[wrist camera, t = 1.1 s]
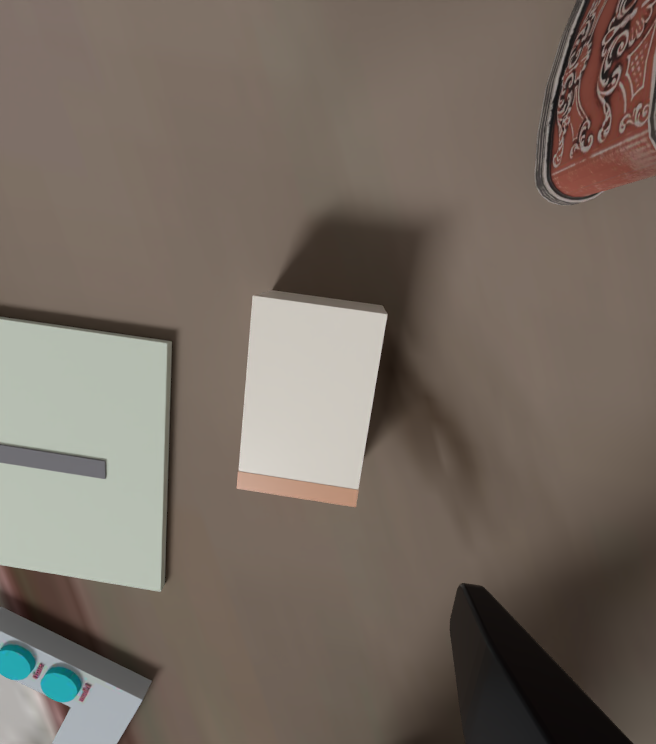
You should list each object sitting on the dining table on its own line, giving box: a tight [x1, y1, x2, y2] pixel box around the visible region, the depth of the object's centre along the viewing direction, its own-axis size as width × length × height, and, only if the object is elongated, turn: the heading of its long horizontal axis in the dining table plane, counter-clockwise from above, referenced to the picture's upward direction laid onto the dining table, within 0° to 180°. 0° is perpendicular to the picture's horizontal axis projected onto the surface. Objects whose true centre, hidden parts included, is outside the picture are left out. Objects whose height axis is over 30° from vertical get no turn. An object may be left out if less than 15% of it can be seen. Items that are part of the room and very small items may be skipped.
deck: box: [237, 290, 388, 507], centre depth 18 cm, size 5×8×4 cm, turn 173°
